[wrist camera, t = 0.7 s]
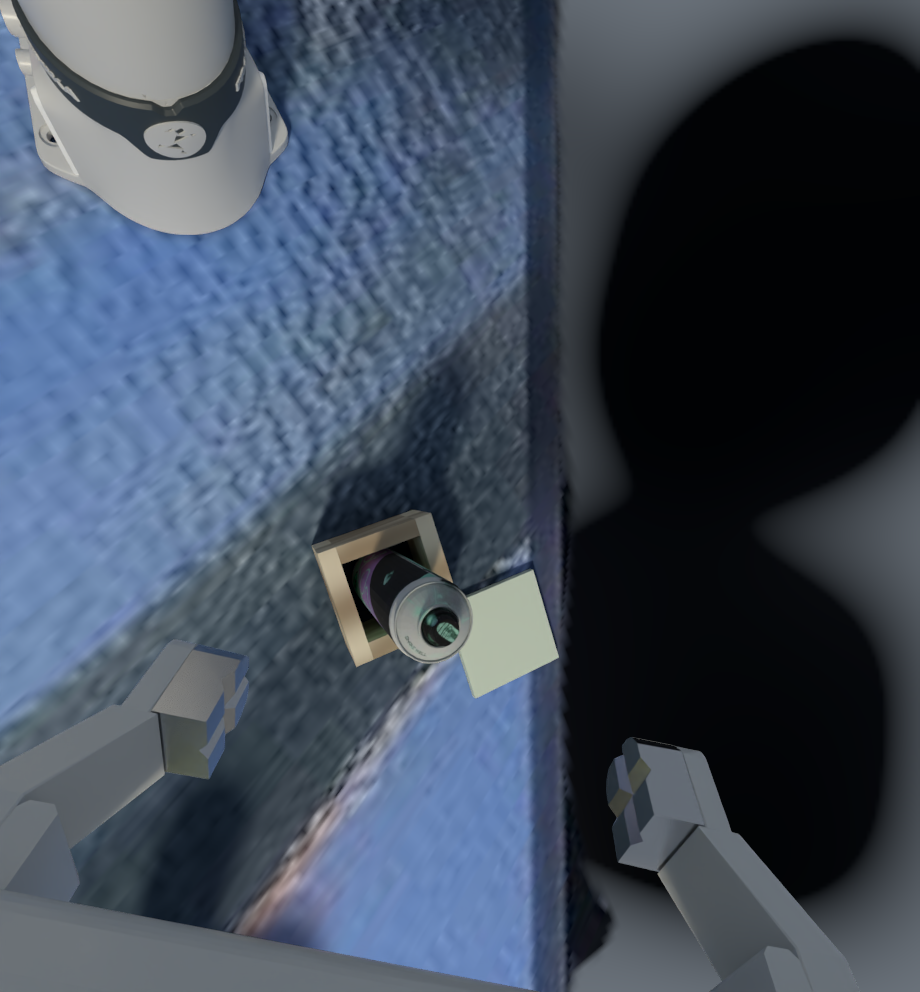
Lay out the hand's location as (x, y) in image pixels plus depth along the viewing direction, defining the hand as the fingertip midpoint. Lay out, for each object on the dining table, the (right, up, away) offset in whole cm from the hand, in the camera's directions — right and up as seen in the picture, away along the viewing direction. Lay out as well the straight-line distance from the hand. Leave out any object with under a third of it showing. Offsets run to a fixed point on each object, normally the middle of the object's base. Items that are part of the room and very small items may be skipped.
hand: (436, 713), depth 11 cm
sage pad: (+5, -9, +44) cm, 45 cm away
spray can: (-7, -3, +39) cm, 40 cm away
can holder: (-7, -3, +39) cm, 40 cm away
